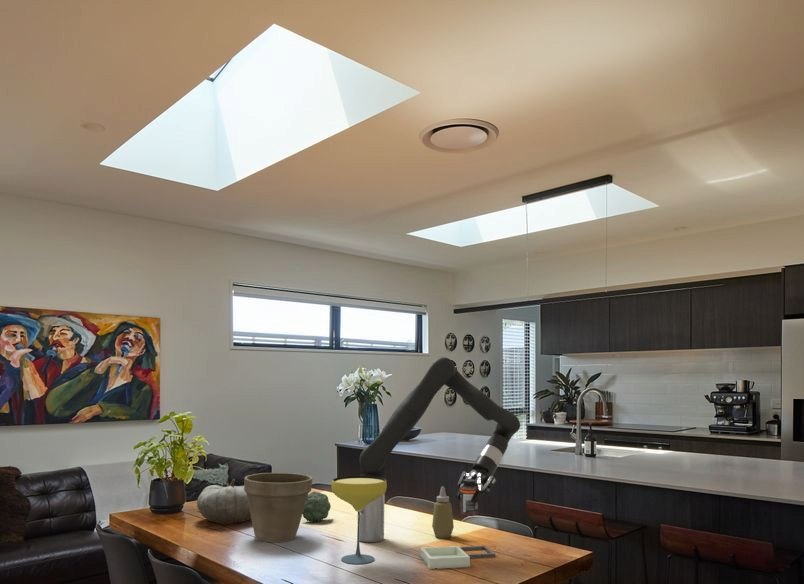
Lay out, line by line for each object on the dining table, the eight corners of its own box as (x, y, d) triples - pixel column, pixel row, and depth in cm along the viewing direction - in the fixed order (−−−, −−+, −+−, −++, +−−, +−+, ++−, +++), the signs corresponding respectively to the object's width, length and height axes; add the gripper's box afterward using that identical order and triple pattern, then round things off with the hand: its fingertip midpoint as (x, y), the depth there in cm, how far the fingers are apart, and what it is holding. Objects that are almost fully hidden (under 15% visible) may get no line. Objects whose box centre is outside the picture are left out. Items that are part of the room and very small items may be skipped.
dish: (429, 568, 190) (429, 558, 191) (420, 557, 203) (420, 547, 203) (469, 566, 193) (469, 556, 193) (458, 555, 205) (458, 546, 206)
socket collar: (465, 558, 202) (465, 555, 202) (456, 550, 212) (456, 546, 212) (495, 557, 204) (495, 553, 204) (485, 548, 214) (485, 545, 214)
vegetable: (326, 509, 267) (340, 498, 256) (311, 535, 258) (325, 525, 247) (304, 493, 266) (316, 481, 256) (288, 518, 257) (300, 507, 247)
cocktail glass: (325, 567, 191) (327, 483, 195) (334, 551, 209) (336, 475, 213) (383, 568, 190) (384, 484, 194) (387, 552, 208) (388, 476, 212)
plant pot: (323, 534, 232) (325, 474, 236) (284, 549, 210) (287, 484, 214) (269, 527, 243) (271, 470, 246) (226, 541, 221) (230, 478, 224)
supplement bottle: (461, 512, 212) (461, 478, 213) (478, 513, 211) (478, 478, 212) (459, 515, 206) (459, 480, 208) (477, 516, 205) (477, 481, 206)
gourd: (225, 524, 234) (226, 477, 240) (181, 528, 246) (183, 482, 252) (272, 520, 254) (271, 476, 260) (229, 523, 267) (230, 481, 272)
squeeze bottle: (452, 539, 226) (452, 488, 228) (430, 538, 227) (430, 488, 230) (454, 534, 233) (454, 485, 236) (433, 533, 235) (433, 484, 238)
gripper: (467, 452, 221) (444, 490, 212) (499, 456, 211) (477, 496, 201) (477, 466, 224) (454, 504, 214) (509, 471, 214) (487, 511, 204)
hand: (465, 500), depth 208 cm, fingers closed on supplement bottle, 6 cm apart
